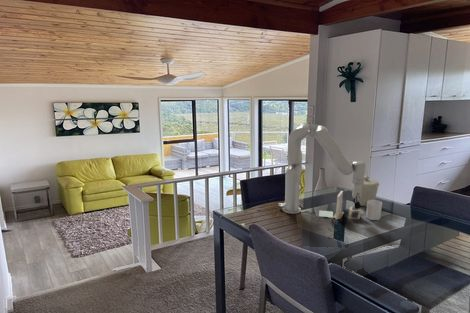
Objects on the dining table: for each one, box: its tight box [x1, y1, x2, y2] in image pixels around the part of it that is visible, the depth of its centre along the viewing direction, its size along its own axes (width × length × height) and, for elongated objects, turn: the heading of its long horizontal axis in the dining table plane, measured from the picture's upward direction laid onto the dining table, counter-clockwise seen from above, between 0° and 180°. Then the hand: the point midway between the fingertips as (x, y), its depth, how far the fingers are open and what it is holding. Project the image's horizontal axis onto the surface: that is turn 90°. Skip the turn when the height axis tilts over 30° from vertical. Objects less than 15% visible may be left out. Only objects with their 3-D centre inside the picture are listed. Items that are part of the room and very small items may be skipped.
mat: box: [318, 209, 334, 219], centre depth 223 cm, size 9×9×1 cm
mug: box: [365, 199, 383, 221], centre depth 218 cm, size 12×9×11 cm
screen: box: [332, 190, 345, 220], centre depth 219 cm, size 4×11×16 cm, turn 150°
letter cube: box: [348, 206, 361, 220], centre depth 219 cm, size 6×6×6 cm
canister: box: [360, 175, 380, 208], centre depth 238 cm, size 18×18×21 cm
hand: (356, 205), depth 217 cm, fingers open, 9 cm apart
